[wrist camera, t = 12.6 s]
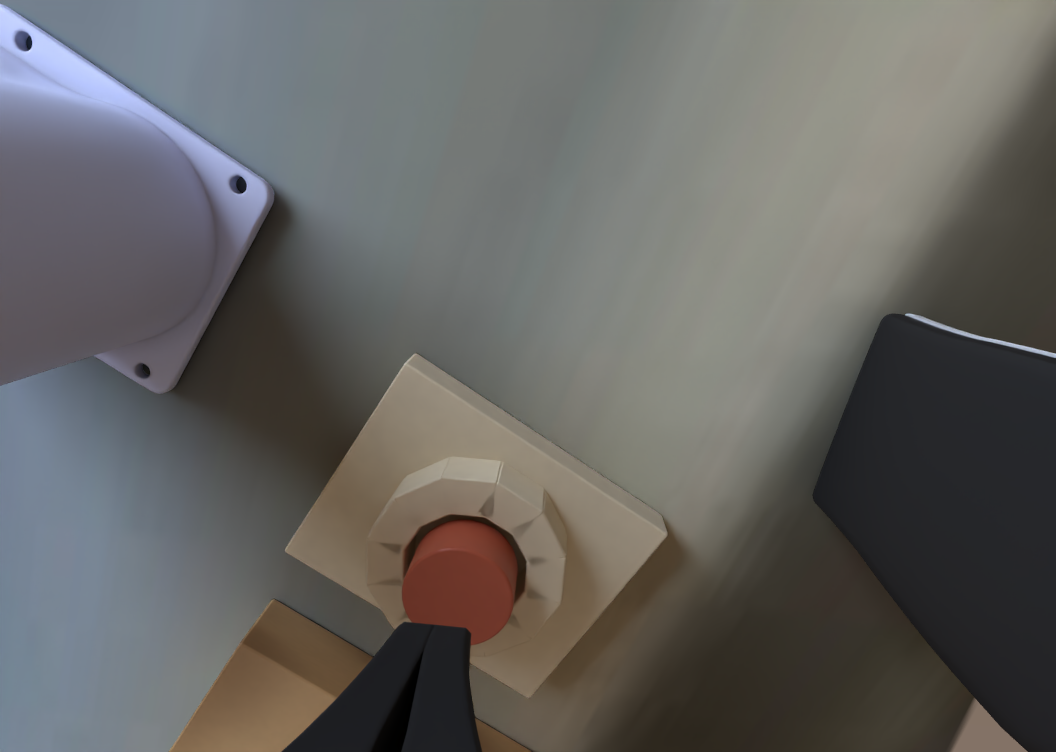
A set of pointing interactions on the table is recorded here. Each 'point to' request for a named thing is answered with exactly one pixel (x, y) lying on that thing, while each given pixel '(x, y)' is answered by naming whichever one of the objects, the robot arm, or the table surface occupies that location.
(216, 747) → the plate
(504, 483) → the bell block
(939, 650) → the battery charger
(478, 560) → the bell button
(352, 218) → the table surface
